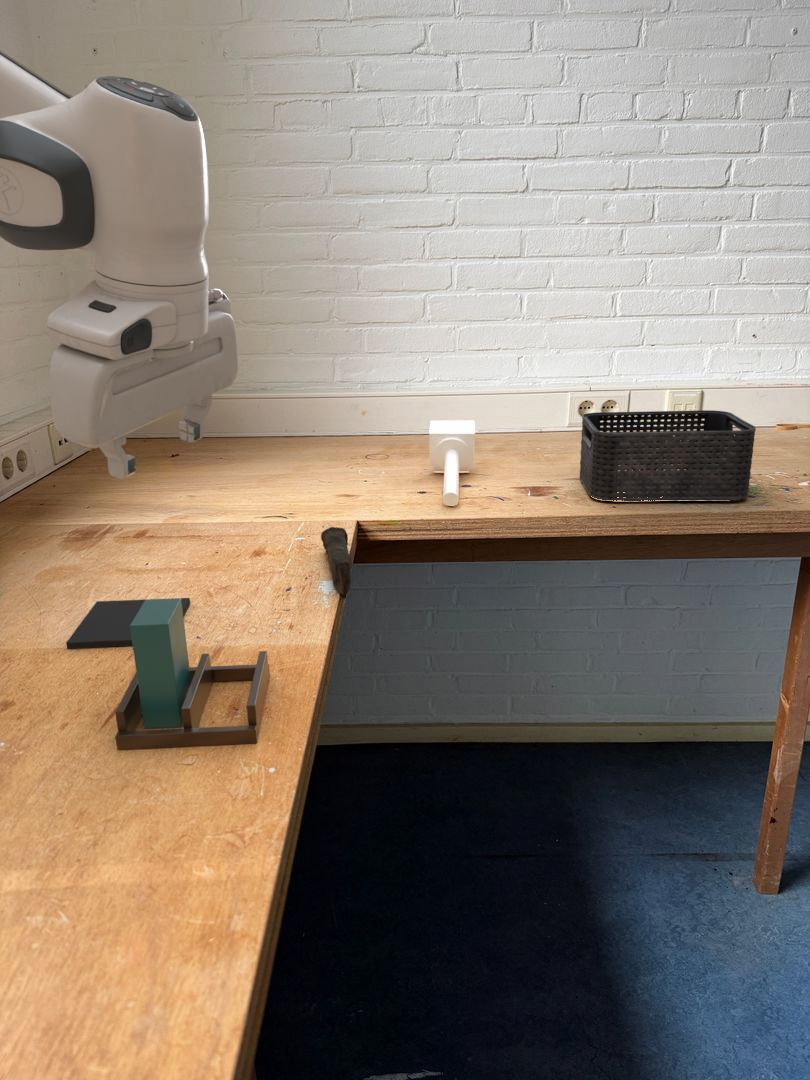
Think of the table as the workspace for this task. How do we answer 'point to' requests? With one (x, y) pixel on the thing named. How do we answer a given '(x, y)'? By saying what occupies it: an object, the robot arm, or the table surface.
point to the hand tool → (338, 557)
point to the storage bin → (666, 456)
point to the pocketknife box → (161, 661)
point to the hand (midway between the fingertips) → (158, 456)
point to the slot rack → (197, 709)
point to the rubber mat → (109, 624)
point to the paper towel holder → (451, 453)
